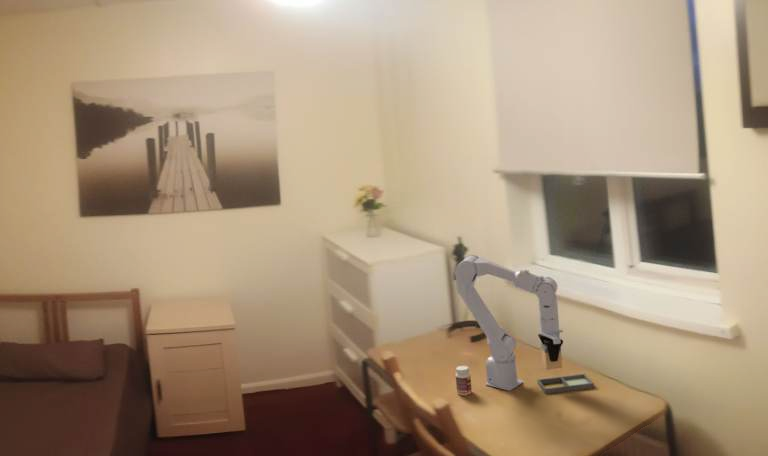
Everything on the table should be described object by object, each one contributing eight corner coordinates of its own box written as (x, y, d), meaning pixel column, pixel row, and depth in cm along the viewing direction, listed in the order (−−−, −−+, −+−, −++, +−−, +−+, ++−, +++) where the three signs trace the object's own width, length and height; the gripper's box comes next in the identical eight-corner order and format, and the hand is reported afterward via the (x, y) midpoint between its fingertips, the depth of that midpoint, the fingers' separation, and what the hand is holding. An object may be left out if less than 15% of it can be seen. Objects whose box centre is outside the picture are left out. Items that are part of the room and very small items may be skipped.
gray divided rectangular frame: (545, 393, 200) (544, 389, 200) (537, 383, 208) (537, 379, 208) (593, 387, 201) (593, 383, 200) (584, 378, 209) (584, 373, 208)
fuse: (546, 369, 201) (544, 348, 200) (542, 365, 205) (541, 344, 204) (562, 367, 201) (560, 346, 200) (558, 363, 205) (556, 342, 204)
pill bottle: (471, 395, 205) (469, 370, 204) (456, 395, 206) (454, 371, 204) (472, 389, 209) (470, 364, 208) (457, 389, 210) (455, 365, 209)
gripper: (569, 322, 194) (572, 365, 196) (554, 309, 208) (556, 349, 210) (546, 325, 193) (549, 368, 195) (532, 311, 208) (535, 351, 210)
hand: (551, 358), depth 203 cm, fingers closed on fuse, 4 cm apart
